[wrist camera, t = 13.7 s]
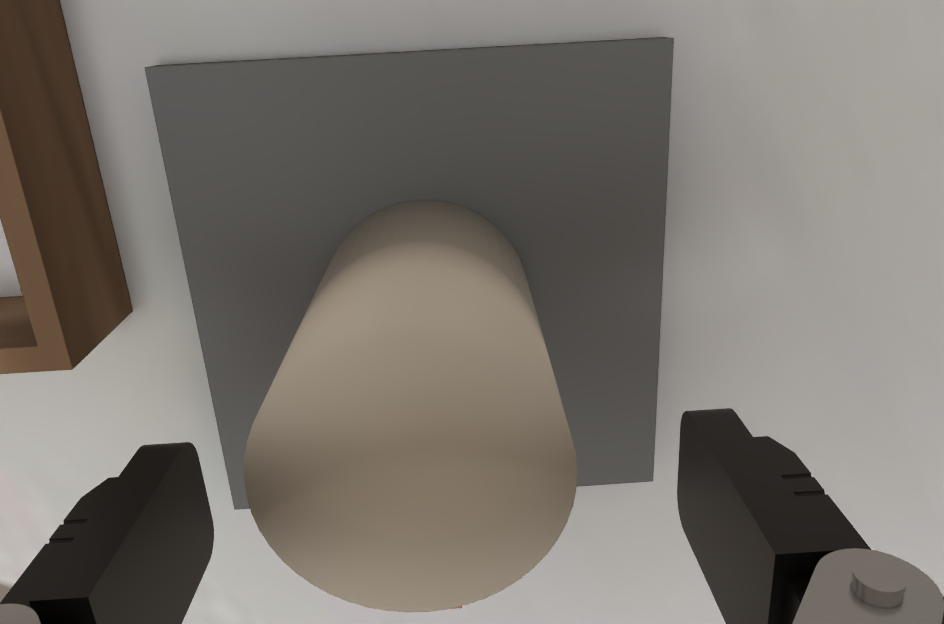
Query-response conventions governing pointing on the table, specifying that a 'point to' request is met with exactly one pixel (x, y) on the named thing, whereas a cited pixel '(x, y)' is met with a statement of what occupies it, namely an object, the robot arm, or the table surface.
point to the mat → (439, 179)
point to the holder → (51, 201)
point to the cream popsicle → (414, 420)
